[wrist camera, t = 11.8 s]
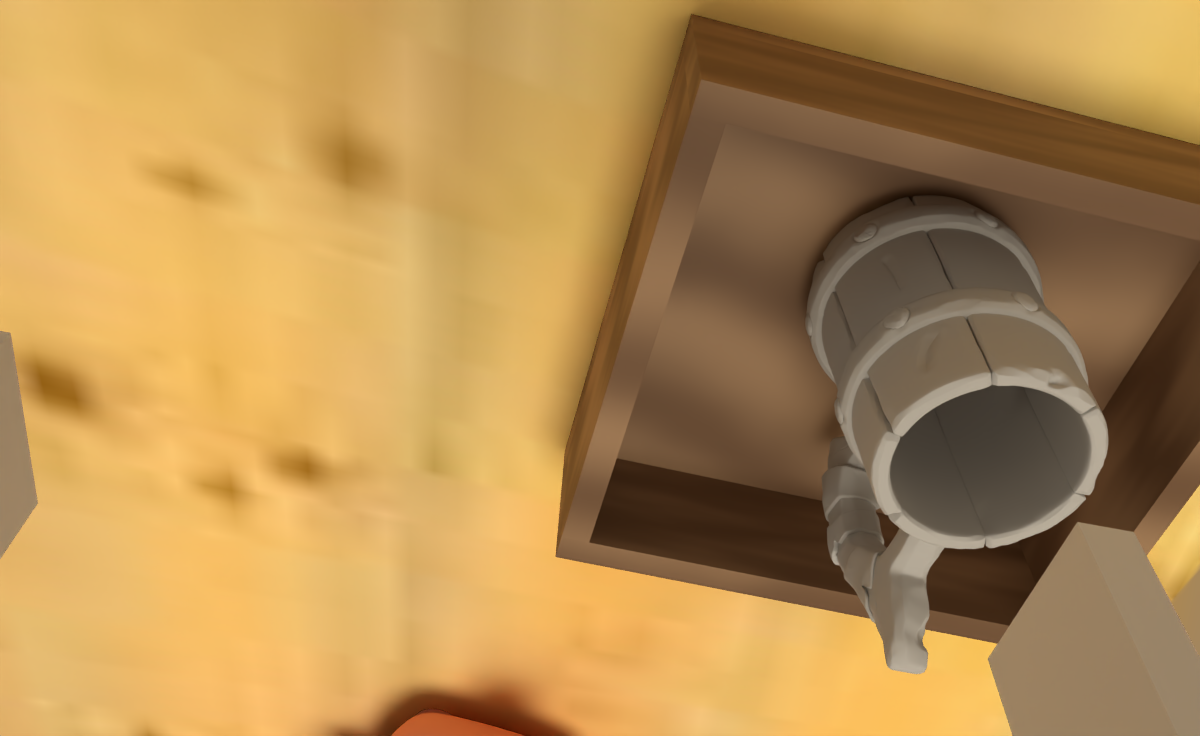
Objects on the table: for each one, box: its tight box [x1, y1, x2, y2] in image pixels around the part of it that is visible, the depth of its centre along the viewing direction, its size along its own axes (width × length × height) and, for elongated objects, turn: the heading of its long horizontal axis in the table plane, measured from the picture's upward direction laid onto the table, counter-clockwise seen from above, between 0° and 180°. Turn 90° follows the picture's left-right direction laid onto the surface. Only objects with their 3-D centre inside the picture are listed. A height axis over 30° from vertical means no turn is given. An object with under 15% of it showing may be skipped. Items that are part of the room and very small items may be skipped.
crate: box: [556, 14, 1200, 643], centre depth 36 cm, size 18×20×6 cm
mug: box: [805, 195, 1108, 674], centre depth 33 cm, size 8×12×12 cm, turn 163°
